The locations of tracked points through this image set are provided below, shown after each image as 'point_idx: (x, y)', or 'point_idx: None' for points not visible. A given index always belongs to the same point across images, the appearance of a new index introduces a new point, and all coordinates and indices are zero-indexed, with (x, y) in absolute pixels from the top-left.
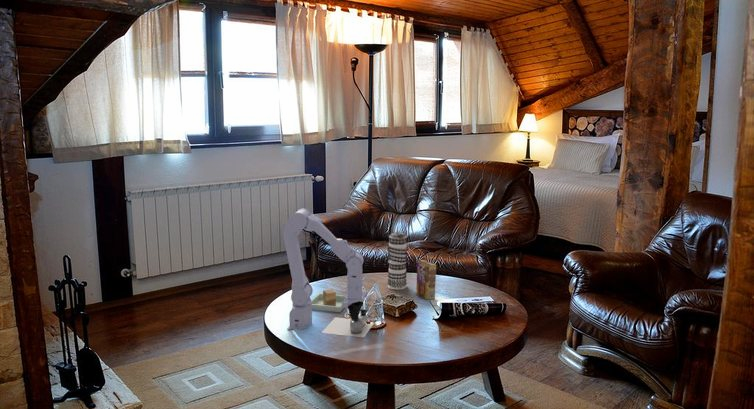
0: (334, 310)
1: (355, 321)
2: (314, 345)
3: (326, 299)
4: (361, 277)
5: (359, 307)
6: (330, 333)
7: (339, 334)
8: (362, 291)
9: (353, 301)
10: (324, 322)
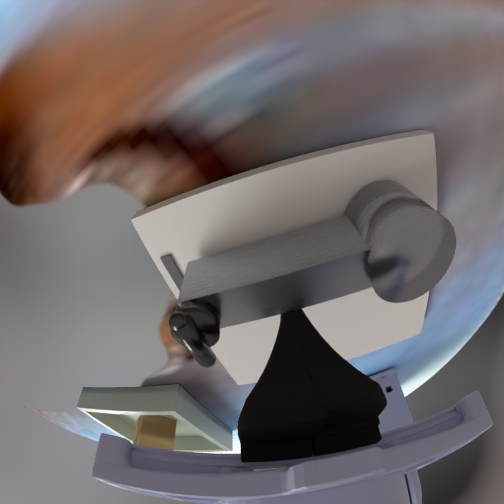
0: (188, 406)
1: (416, 267)
2: (488, 284)
3: (173, 444)
4: None
5: (318, 381)
6: (424, 306)
7: None
8: (120, 487)
9: (442, 445)
10: None
